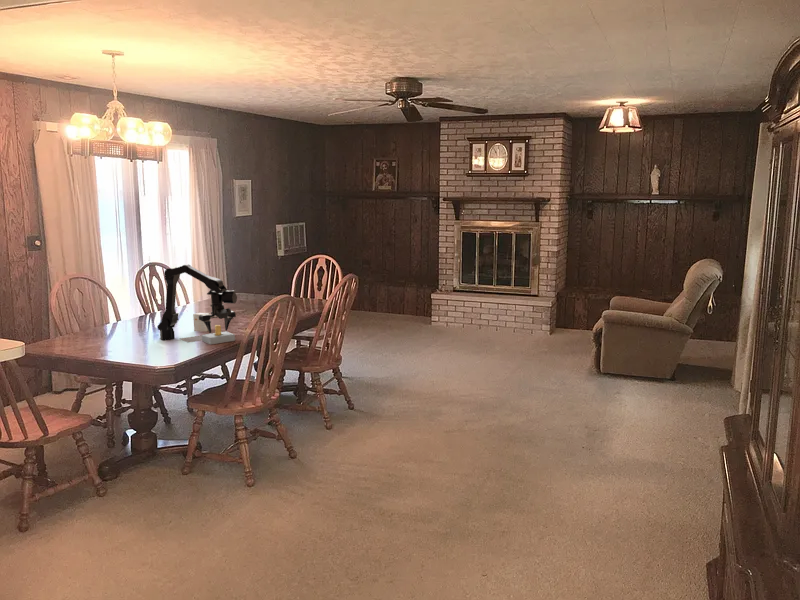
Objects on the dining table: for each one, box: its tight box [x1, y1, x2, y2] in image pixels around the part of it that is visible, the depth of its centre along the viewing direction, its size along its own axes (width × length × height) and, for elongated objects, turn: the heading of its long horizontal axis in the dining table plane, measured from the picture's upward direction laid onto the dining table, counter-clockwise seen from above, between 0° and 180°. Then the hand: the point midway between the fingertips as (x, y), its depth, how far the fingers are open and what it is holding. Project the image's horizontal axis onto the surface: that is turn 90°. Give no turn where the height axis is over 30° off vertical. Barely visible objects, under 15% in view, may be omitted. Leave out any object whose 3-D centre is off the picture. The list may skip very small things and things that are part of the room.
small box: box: [192, 312, 212, 333], centre depth 381 cm, size 8×6×10 cm
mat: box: [179, 334, 203, 343], centre depth 360 cm, size 14×12×1 cm
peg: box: [214, 324, 222, 336], centre depth 355 cm, size 3×3×9 cm
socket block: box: [201, 330, 236, 345], centre depth 355 cm, size 14×10×4 cm
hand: (218, 331), depth 354 cm, fingers open, 9 cm apart
